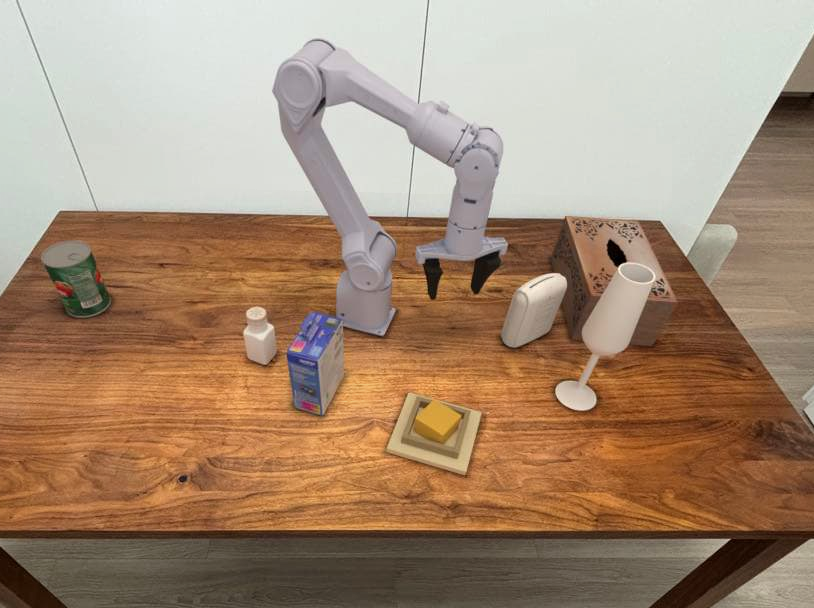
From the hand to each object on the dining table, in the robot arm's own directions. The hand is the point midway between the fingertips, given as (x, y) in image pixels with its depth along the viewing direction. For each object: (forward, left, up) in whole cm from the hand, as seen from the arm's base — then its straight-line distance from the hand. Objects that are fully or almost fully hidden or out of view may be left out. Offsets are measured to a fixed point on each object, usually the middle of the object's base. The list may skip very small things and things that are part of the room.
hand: (453, 293), depth 90 cm
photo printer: (+14, +5, -10) cm, 18 cm away
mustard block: (+4, -22, -8) cm, 24 cm away
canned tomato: (-64, -16, -10) cm, 67 cm away
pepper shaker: (-28, -17, -10) cm, 34 cm away
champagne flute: (+24, -7, -10) cm, 26 cm away
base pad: (+4, -23, -9) cm, 25 cm away
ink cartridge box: (-16, -21, -10) cm, 28 cm away
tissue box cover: (+26, +21, -10) cm, 35 cm away
